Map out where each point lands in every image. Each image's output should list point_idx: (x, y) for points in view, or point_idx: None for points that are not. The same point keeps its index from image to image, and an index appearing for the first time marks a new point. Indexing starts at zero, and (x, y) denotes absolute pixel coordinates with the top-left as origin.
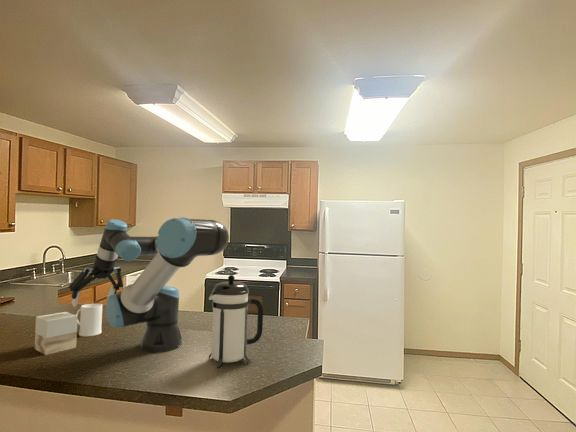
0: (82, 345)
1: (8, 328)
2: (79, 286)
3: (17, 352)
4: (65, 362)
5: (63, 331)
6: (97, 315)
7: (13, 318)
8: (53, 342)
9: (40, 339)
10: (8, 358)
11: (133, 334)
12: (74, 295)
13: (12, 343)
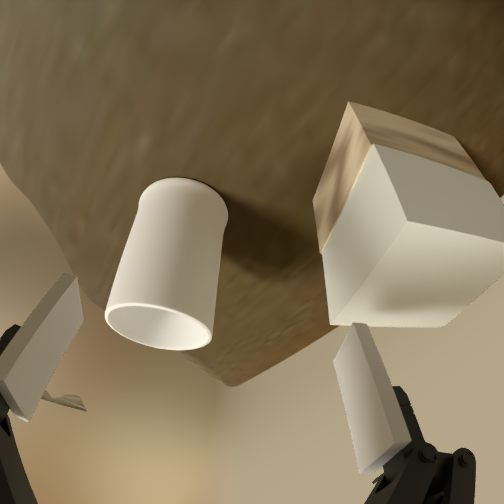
0: (314, 98)
1: (287, 353)
2: (418, 501)
3: None
4: (497, 4)
5: (442, 173)
6: (152, 255)
7: (240, 375)
8: (454, 156)
9: None
10: None
11: (52, 61)
12: (405, 413)
13: None
